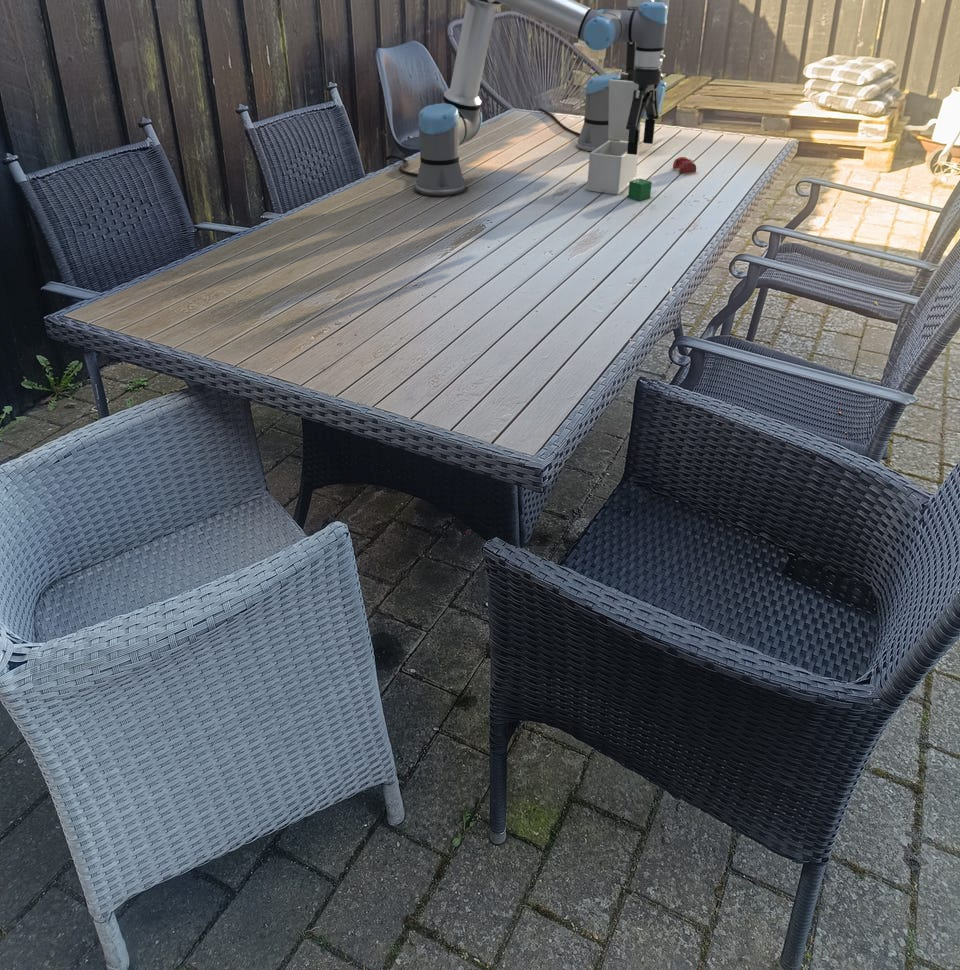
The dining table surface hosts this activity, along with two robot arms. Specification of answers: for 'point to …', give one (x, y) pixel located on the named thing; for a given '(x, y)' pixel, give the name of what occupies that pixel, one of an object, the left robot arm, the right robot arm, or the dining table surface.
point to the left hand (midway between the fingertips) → (640, 148)
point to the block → (639, 189)
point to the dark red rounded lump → (684, 165)
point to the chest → (611, 168)
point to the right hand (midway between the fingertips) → (631, 95)
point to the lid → (620, 107)
